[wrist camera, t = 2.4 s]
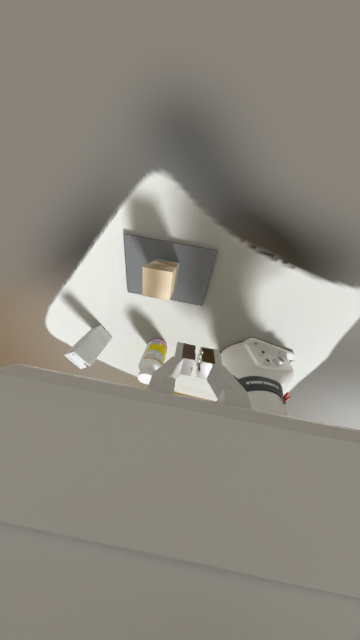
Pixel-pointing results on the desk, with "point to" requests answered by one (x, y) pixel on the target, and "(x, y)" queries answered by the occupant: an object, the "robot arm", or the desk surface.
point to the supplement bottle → (152, 359)
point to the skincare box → (89, 347)
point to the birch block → (160, 278)
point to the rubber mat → (191, 266)
